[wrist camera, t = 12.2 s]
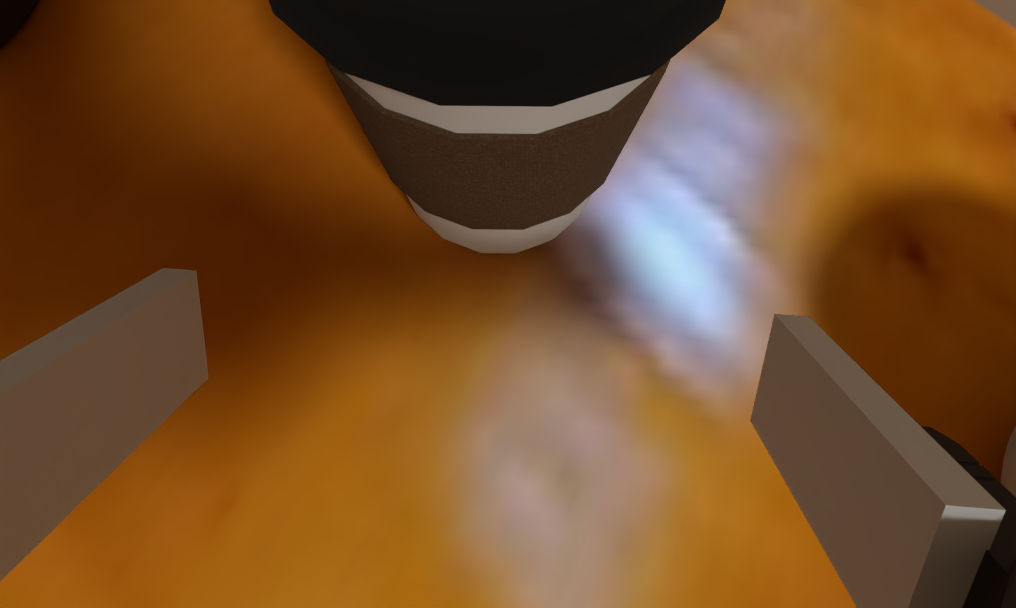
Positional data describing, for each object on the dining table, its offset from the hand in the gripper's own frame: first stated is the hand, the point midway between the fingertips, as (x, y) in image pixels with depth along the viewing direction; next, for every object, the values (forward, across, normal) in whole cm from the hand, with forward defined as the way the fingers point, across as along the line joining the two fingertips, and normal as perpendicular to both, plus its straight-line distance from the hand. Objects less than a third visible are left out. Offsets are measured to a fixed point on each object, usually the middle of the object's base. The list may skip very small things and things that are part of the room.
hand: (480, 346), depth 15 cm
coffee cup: (+11, 0, +2) cm, 11 cm away
